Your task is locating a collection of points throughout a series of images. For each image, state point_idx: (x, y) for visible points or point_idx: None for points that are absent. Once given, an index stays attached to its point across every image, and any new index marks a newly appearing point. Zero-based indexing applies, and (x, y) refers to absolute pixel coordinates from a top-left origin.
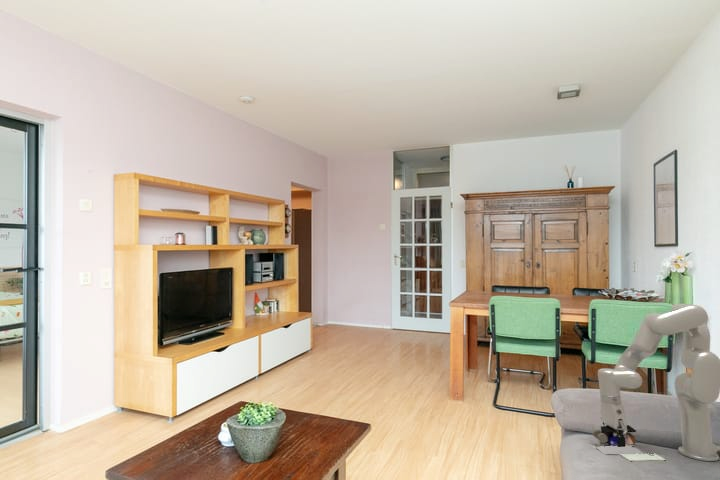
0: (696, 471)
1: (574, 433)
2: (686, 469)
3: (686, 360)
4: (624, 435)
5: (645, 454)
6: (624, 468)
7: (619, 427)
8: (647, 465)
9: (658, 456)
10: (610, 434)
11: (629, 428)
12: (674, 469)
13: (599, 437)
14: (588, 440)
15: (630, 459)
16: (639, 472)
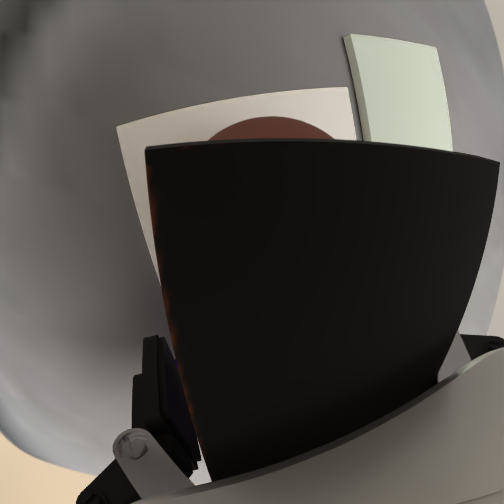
0: (481, 15)
1: (32, 456)
2: (479, 36)
3: None
4: (465, 339)
5: (387, 124)
6: (474, 314)
7: (306, 416)
8: None
9: (405, 52)
10: (177, 398)
11: (417, 243)
12: (490, 91)
13: None
14: (118, 435)
15: None
16: (500, 267)
